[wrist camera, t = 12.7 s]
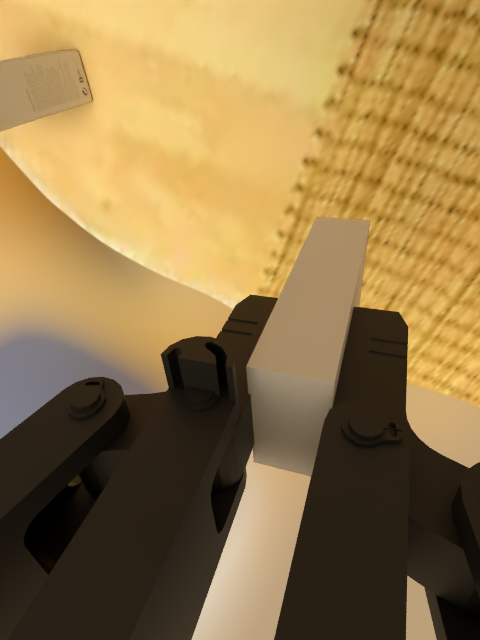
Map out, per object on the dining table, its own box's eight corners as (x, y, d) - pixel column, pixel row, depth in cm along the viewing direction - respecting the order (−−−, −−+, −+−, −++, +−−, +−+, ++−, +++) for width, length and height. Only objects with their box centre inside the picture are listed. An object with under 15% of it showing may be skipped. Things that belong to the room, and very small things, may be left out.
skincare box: (78, 47, 36) (-34, 59, 27) (95, 104, 38) (-2, 133, 29) (23, 57, 38) (-98, 72, 29) (43, 111, 40) (-63, 140, 31)
